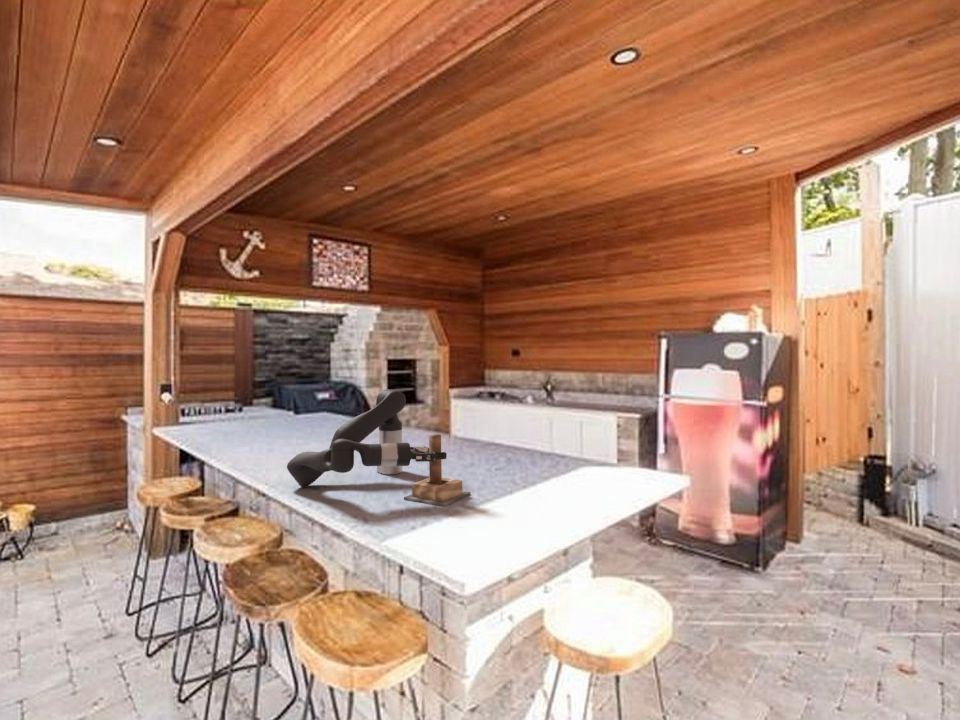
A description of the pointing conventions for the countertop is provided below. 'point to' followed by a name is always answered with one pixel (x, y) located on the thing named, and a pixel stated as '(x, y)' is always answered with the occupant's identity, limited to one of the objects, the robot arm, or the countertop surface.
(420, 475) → the countertop surface
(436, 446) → the peg
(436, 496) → the socket block
